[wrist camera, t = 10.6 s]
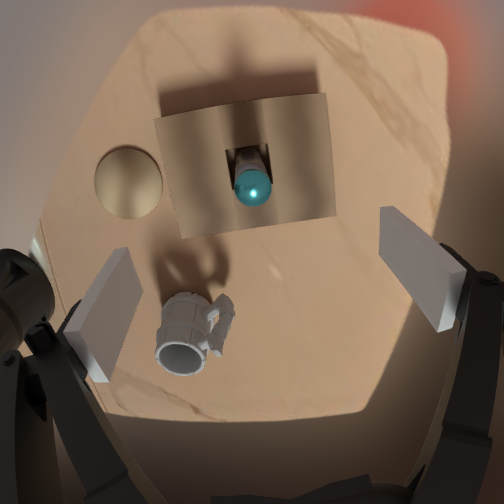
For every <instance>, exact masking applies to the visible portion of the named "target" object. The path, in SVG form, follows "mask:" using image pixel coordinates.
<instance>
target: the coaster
mask: <svg viewBox="0 0 504 504" xmlns="http://www.w3.org/2000/svg"><path fill="white" fill-rule="evenodd" d="M94 184H95V191H96V194H97V197H98V199H99V201H100V203H101V204H102V206H103V207H104V208H105V209H106V210H107V211H108V212H110V213H111V214H113V215H115V216H117V217H119V218H123V219H137V218H140V217H143V216H145V215H146V214H148V213H149V212H151V211H152V210H153V208H154V207H155V206H156V205H157V203H158V201H159V199H160V197H161V193H162V186H163V185H162V176H161V173H160V170H159V168H158V166H157V165H156V163H155V162H154V161H153V160H152V159H151V158H150V157H149V156H148V155H147V154H145V153H143V152H142V151H139V150H136V149H130V148H126V149H119V150H116V151H114V152H112V153H110V154H109V155H107V156H106V157H105V158H104V159H103V160H102V161H101V163H100V164H99V166H98V168H97V170H96V174H95V182H94Z"/></svg>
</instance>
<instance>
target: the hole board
mask: <svg viewBox="0 0 504 504" xmlns="http://www.w3.org/2000/svg"><path fill="white" fill-rule="evenodd" d="M154 123H155V128H156V132H157V137H158V142H159V147H160V151H161V156H162V160H163V165H164V169H165V174H166V178H167V182H168V187H169V191H170V195H171V199H172V203H173V207H174V211H175V215H176V219H177V223H178V227H179V231H180V235H181V239H186V238H192V237H199V236H205V235H211V234H217V233H224V232H230V231H236V230H243V229H249V228H256V227H263V226H269V225H276V224H283V223H290V222H297V221H303V220H310V219H318V218H325V217H332V216H336V201H335V184H334V170H333V157H332V146H331V135H330V125H329V116H328V107H327V99H326V93H315V94H302V95H291V96H282V97H273V98H265V99H257V100H250V101H243V102H237V103H230V104H224V105H219V106H213V107H208V108H203V109H198V110H193V111H188V112H183V113H179V114H174V115H170V116H165V117H161V118H158V119H154ZM259 144H266V148H267V155H268V162H269V169H270V176H268V177H269V179H270V182H271V186H272V191H271V195H270V197H269V199H268V200H267V201H266V202H265V203H263V204H262V205H259V206H254V207H252V206H247V205H244V204H242V203H241V202H240V201H239V200H238V199H237V197H236V195H235V190H234V187H235V182H233V181H232V176H231V170H230V164H229V158H228V153H227V149H233V148H239V147H245V146H252V145H259Z"/></svg>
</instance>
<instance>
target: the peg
mask: <svg viewBox="0 0 504 504" xmlns="http://www.w3.org/2000/svg"><path fill="white" fill-rule="evenodd" d="M234 190H235V195H236V197H237V199H238V200H239V201H240V202H241V203H242V204H244V205H247V206H252V207H254V206H259V205H262V204H263V203H265V202H266V201H267V200H268V199H269V197H270V195H271V191H272V186H271V182H270V179H269V177H268V174H267V171H266V169H265V166H264V163H263V161H262V158H261V155H260V154H259V152H258V151H256V150H255V149H252V148H246V149H243V150H241V151H240V152H239V153H238V154H237V156H236V165H235V187H234Z"/></svg>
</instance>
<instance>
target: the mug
mask: <svg viewBox="0 0 504 504" xmlns="http://www.w3.org/2000/svg"><path fill="white" fill-rule="evenodd" d="M217 314H219V320H218V322H217V323H216V324H215V326H214V327H213V325H214V317H215V316H216V315H217ZM234 317H235V311H234V305H233V302H232V301H231V299H230V298H229V297H228V296H226V295H225V294H224V293H223V294H221V295H220V296H219V297H218V298H217V299H216V300H215V301H214V302H213V303H212V304H211V305H210V303H209V302H208V301H207V300H206V299H205V298H204V297H202V296H201V295H199V296H198V294H196V293H194V294H192V293H191V292H180V293H177V294H175V296H174V297H170V298H169V300H168V301H167V302H166V303H165V304H164V306H163V308H162V312H161V321H162V322H161V327H160V328H159V329H158V330H157V337H156V342H157V346H156V351H155V358H156V360H157V362H158V364H160V365H161V366H162V367H163V368H164V369H165V370H166V371H168V372H170V373H171V372H172V374H175V375H181V376H188V375H192V374H194V373H198V372H200V371H201V370H202V369H203V368H204V366H205V363H206V356H207V354H208V352H209V349H211V351H212V352H213V353H214V354H215V355H216V356H222V348H223V345H224V341H225V340H226V337H227V334H228V332H229V330H230V328H231V326H230V325H231V322H232V320H233V319H234ZM212 328H213V329H212ZM210 332H211V333H210Z"/></svg>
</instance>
